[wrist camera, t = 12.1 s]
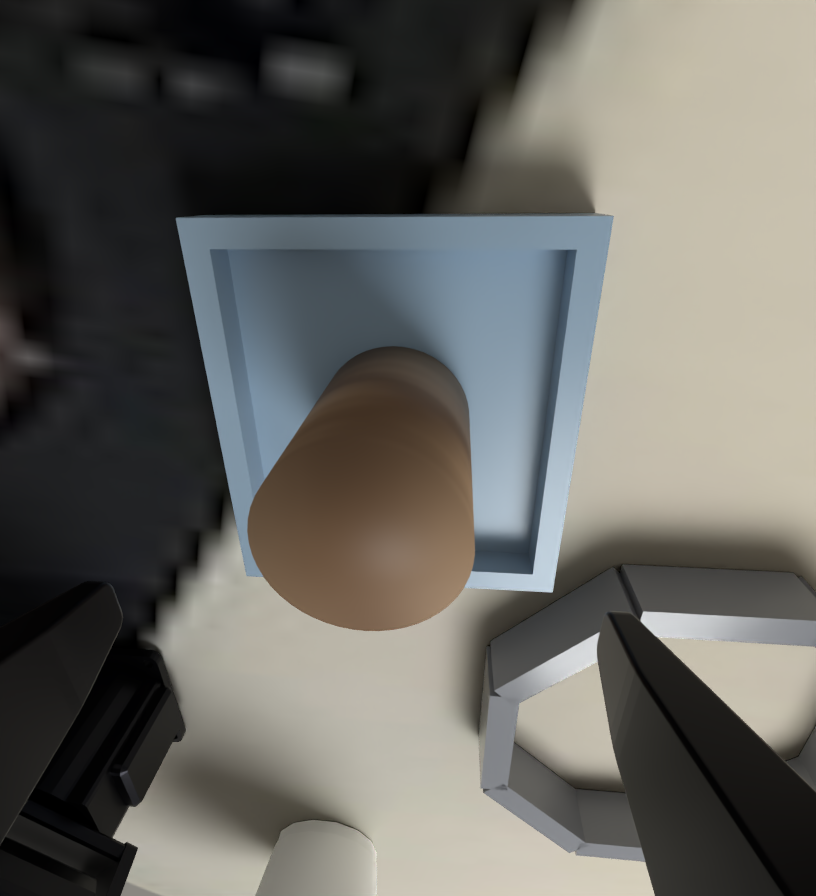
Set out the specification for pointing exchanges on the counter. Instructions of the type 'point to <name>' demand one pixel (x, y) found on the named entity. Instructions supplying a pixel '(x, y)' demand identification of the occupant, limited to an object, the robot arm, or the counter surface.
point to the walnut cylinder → (372, 497)
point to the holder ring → (575, 648)
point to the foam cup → (320, 862)
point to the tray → (409, 346)
